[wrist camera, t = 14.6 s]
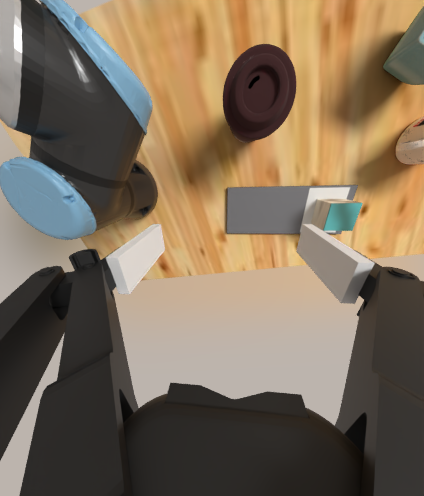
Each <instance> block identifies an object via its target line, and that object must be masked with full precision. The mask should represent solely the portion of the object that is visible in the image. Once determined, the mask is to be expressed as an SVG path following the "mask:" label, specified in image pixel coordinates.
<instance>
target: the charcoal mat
mask: <svg viewBox="0 0 424 496" xmlns="http://www.w3.org/2000/svg"><path fill="white" fill-rule="evenodd" d="M357 186H358V185H329V186H281V187H233V188H228V204H227V233H265V234H301V230H302V225H303V224H312V223H311V221H312V217H313V213H314V209H315V205H316V201H317V199H347V200H351V201H353V198H354V195H355V192H356V189H357ZM312 225H314V224H312ZM314 226H315V225H314ZM316 227H317V226H316ZM317 228H319V227H317ZM319 229H320V228H319ZM320 230H322V229H320ZM322 231H323V230H322ZM324 232H325V233H327V234H341V232H342V231H324Z"/></svg>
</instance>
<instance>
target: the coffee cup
mask: <svg viewBox="0 0 424 496" xmlns="http://www.w3.org/2000/svg"><path fill="white" fill-rule="evenodd" d="M295 94H296V75H295V70H294V67H293V64H292V62H291V60H290V58H289V57H288V55H287V54H286V53H285V52H284V51H283V50H282V49H280V48H279V47H277V46H274V45H270V44H260V45H256V46H253V47H251V48H249V49H248V50H246V51H245V52H244V53H243V54H241V55H240V56H239V57H238V59H237V60H236V61H235V62H234V64H233V65H232V67H231V69H230V71H229V73H228V75H227V78H226V81H225V85H224V91H223V109H224V114H225V118H226V120H227V123H228V125H229V126H230V129H231V131H232V133H233V135H234V136H235V138H236V139H238V140H239V141H241V142H252V141H255V140H259V139H262V138H265V137H267V136H269V135H270V134H272V133H273V132H274V131H275V130H277V129H278V128H279V127H280V126H281V125H282V123H283V122H284V121H285V119H286V118H287V116H288V114H289V112H290V110H291V108H292V105H293V102H294V99H295Z"/></svg>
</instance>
